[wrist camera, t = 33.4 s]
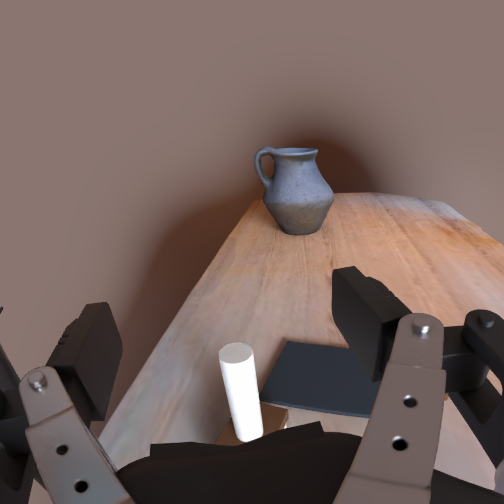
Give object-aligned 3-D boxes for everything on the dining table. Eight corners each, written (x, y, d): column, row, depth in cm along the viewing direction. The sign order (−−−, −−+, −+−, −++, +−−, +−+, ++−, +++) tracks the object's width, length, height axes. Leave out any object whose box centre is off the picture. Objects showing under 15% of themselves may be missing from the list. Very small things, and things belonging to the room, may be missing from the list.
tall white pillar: (261, 484, 26) (244, 396, 21) (213, 469, 28) (179, 378, 23) (288, 426, 33) (284, 328, 28) (245, 415, 35) (228, 319, 30)
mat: (258, 400, 37) (257, 397, 37) (287, 343, 47) (287, 340, 47) (387, 419, 31) (388, 416, 31) (393, 355, 41) (394, 352, 41)
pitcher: (342, 238, 85) (339, 144, 76) (261, 246, 86) (252, 150, 77) (326, 217, 104) (322, 140, 95) (260, 223, 105) (252, 145, 96)
